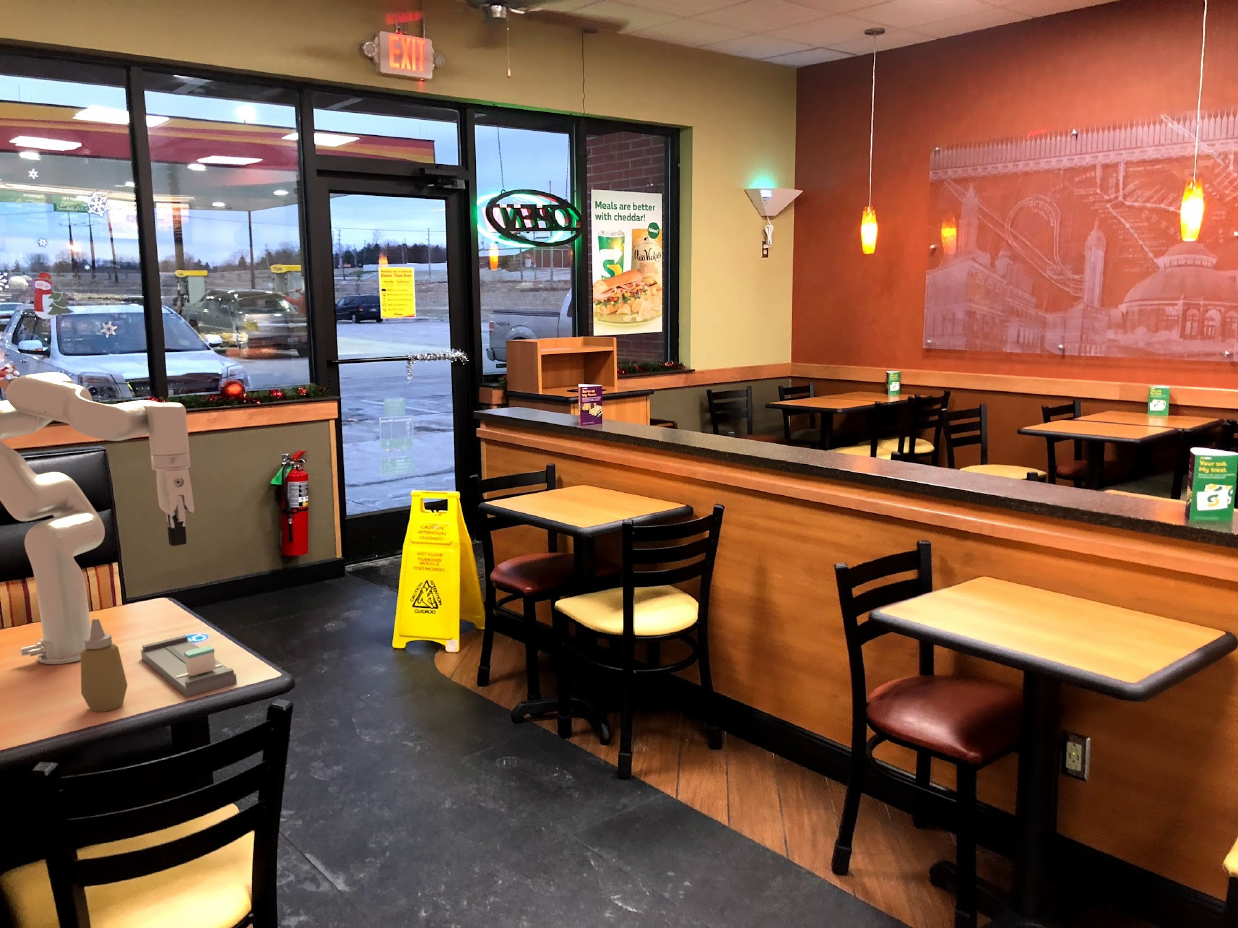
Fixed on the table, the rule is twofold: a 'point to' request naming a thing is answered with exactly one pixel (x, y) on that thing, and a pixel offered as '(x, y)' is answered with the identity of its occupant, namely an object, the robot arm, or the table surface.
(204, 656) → the fader knob
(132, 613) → the table surface
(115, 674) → the squeeze bottle
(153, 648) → the console board
